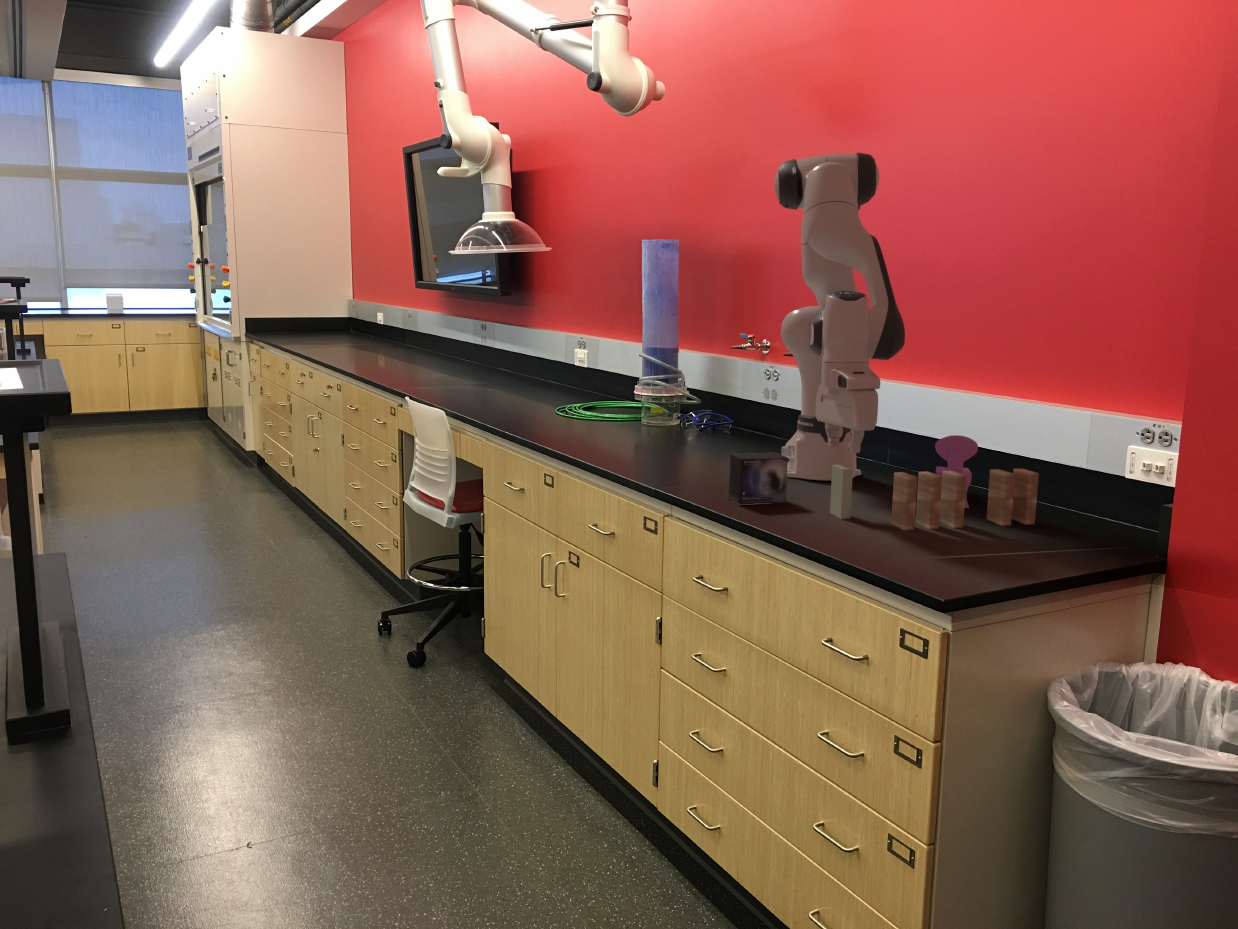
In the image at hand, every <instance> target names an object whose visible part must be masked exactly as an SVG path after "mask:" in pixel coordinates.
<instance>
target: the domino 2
mask: <svg viewBox="0 0 1238 929" xmlns="http://www.w3.org/2000/svg"><path fill="white" fill-rule="evenodd" d="M892 487H893V489H892V490H893V491H892V502H891V503H892V504H891V505H892V507H891V520H890V521H891V523H890V524H891V525H893V526H895V527H896V528H898V529H900V530H903V531H915V524H916V507H917V491H918V476H915V475H913V474H910V473H907V472H900V471H899V472H894V473H893V486H892Z"/></svg>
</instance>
